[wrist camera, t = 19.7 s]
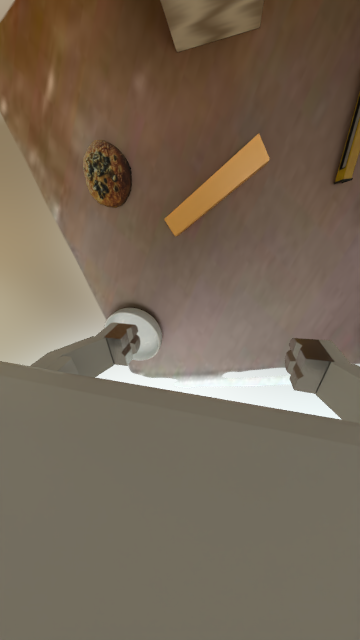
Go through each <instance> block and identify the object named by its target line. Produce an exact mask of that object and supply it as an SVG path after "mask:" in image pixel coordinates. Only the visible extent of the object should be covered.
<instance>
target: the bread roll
mask: <svg viewBox="0 0 360 640" xmlns="http://www.w3.org/2000/svg"><path fill="white" fill-rule="evenodd" d="M83 166H84V167H83V169H84V175H85V178H86V184H87V186H88V188H89V191H90V193H91V195H92V196H93V197H94V198H95V199H96V200H97V201H98V203H100V204H103V205H105V206H107V207H114V208H115V207H118V206H121V205H122V204H123V203H124V202H125V200H126V199H127V197H128V195H129V192H130V188H131V167H130V166H129V164H128V161H127V160H126V158H125V157H124V155H123V154H122V153H121V152H120V151H119V150H118V149H117V148H116V147H115V146H113V145H112V144H110V143H108V142H106V141H104V140H95V141H94V142H92V144H91V145H90V146H89V147H88V149H87V151H86V154H85V156H84V159H83Z"/></svg>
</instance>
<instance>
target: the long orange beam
mask: <svg viewBox="0 0 360 640" xmlns="http://www.w3.org/2000/svg"><path fill="white" fill-rule="evenodd" d="M269 160H270V159H269V156H268V154H267V151H266V149H265V147H264V144H263V142H262V139H261V137H260V135H259V134H258V135H256V136H255V137H254V138H253V139H252V140H251V141H250V142H249V143H248V144H247V145H245V146H244V147H243V148H242V149H241V150H240V151H239V152H238V153H237V154H236V155H234V156H233V157H232V158H231V159H230V160H229V161H228V162H227V163H226V164H224V165H223V166H222V167H221V168H220V169H219V170H218V171H217V172H216V173H215V174H213V175H212V176H211V177H210V178H209V179H208V180H207V181H206V182H205V183H204V184H202V185H201V186H200V187H199V188H198V189H197V190H196V191H195V192H194V193H193V194H191V195H190V196H189V197H188V198H187V199H186V200H185V201H184V202H183V203H182V204H180V205H179V206H178V207H177V208H176V209H175V210H174V211H173V212H172V213H170V214H169V215H168V216H167V217H166V218H165V219H164V220H165V221H166V223H167V224H168V226H169V228H170V229H171V231H172V232H173V234H174V235H175V236H178V235H180V234H181V233H182V232H183V231H185V230H186V229H187V228H188V227H190V226H191V225H192V224H193V223H194V222H196V221H197V220H198V219H199V218H201V217H202V216H203V215H204V214H206V213H207V212H208V211H209V210H210V209H212V208H213V207H214V206H215V205H217V204H218V203H219V202H220V201H222V200H223V199H224V198H225V197H227V196H228V195H229V194H230V193H231V192H233V191H234V190H235V189H236V188H238V187H239V186H240V185H241V184H243V183H244V182H245V181H246V180H248V179H249V178H250V177H251V176H252V175H254V174H255V173H256V172H257V171H259V170H260V169H261V168H262V167H264V166H265V165H266V164H267V163H268V161H269Z"/></svg>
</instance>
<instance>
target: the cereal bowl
mask: <svg viewBox="0 0 360 640" xmlns="http://www.w3.org/2000/svg"><path fill="white" fill-rule="evenodd" d="M110 323H124V324H133V325H136V326H137V328H138V333H137V335H138V336H139V337H140V347H139V350H138V352H137V353H135V354H133V360H147V359H150V358H152V357H153V356H155V355H156V353H157V352H158V350H159V348H160V345H161V342H162V332H161V329H160V326H159V324H158V323H157V321H156V320H155V319H154V318H153V317H152V316H151V315H150V314H148V313H147V312H145V311H143V310H140V309H137V308H124V309H120V310H118V311H116V312H114V313H113V314H112V315H110V317H108V319H107V320H106V322H105V325H104V328H106V327H107V326H108V325H109V324H110Z"/></svg>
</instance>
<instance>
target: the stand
mask: <svg viewBox="0 0 360 640" xmlns="http://www.w3.org/2000/svg"><path fill="white" fill-rule="evenodd" d="M160 1H161V4H162V7H163V10H164V13H165V17H166V20H167V23H168V26H169V29H170V32H171V35H172V39H173V42H174V45H175V48H176V51H177V52H180V51H183V50H187V49H190V48H193V47H197V46H200V45H203V44H207V43H210V42H213V41H217V40H220V39H223V38H227V37H230V36H233V35H237V34H240V33H243V32H247V31H250V30H253V29H257V28H260V23H261V17H262V10H263V4H264V0H160Z"/></svg>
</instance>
